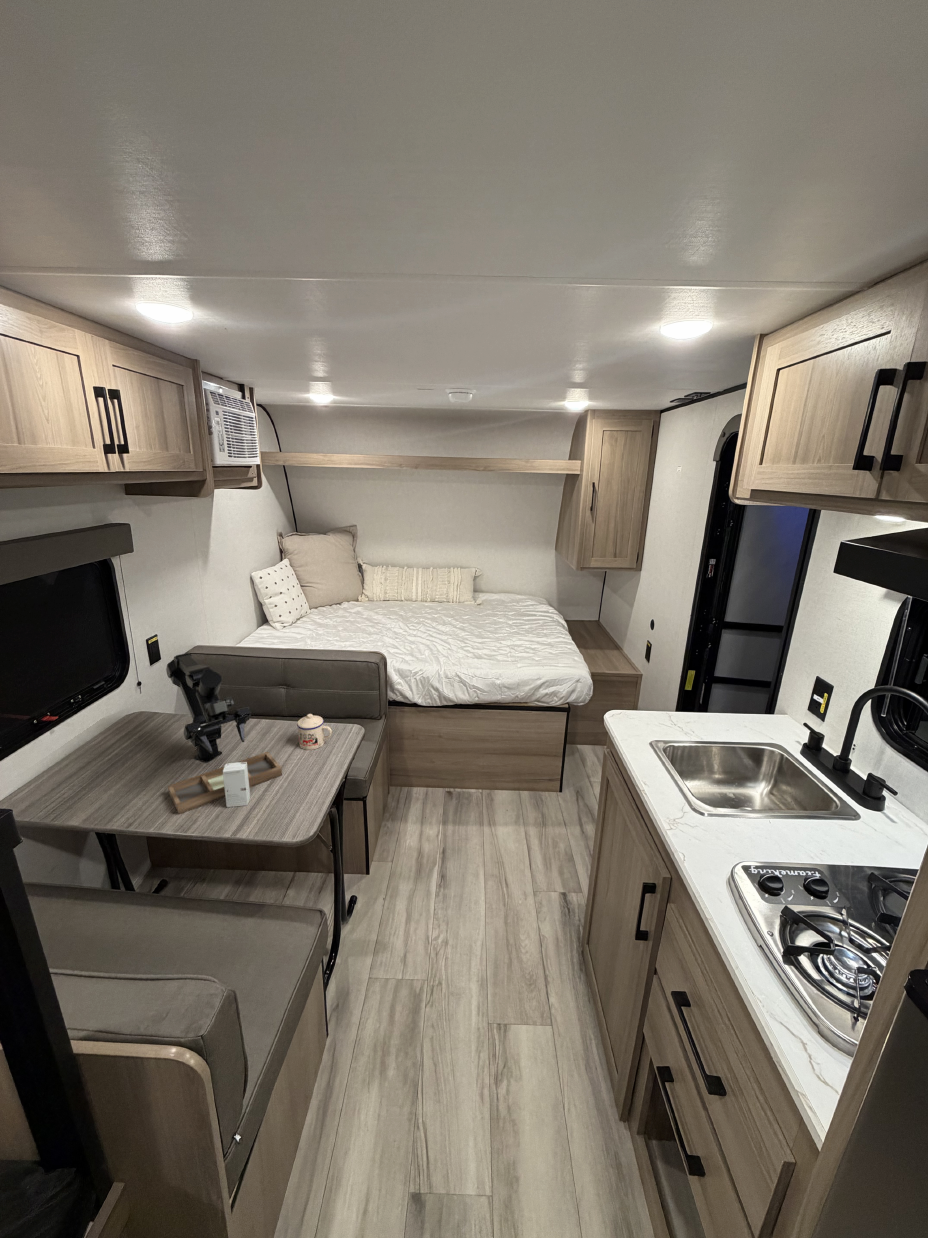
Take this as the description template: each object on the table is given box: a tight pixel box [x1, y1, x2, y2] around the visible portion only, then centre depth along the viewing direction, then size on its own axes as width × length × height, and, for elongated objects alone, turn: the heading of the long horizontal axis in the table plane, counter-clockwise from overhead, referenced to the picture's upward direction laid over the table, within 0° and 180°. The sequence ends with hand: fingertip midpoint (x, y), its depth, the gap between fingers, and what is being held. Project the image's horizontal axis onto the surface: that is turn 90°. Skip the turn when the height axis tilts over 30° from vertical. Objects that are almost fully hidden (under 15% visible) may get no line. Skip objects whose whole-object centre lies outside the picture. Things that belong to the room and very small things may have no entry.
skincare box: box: [223, 761, 251, 808], centre depth 148 cm, size 6×4×12 cm
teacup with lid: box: [296, 713, 333, 751], centre depth 179 cm, size 12×9×12 cm
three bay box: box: [167, 751, 283, 815], centre depth 157 cm, size 12×30×3 cm, turn 131°
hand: (228, 747), depth 152 cm, fingers open, 9 cm apart
